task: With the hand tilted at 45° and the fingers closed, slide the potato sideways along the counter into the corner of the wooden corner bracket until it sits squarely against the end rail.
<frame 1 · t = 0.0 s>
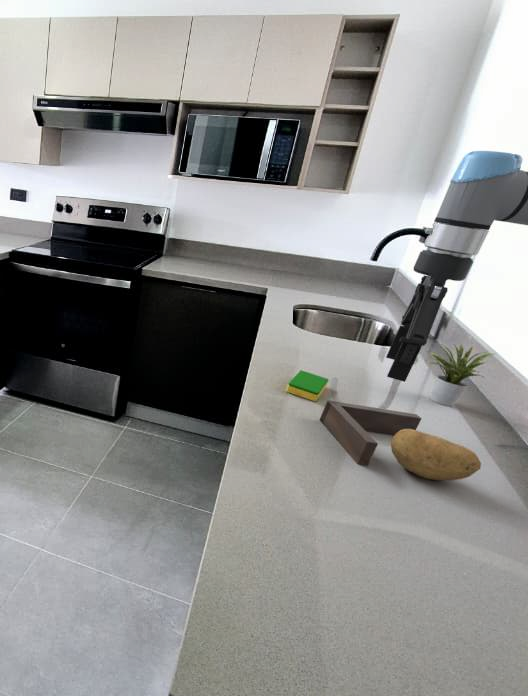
hand: (394, 368, 93), 18 cm above the worktop, tool pointing down, fingers open, 13 cm apart
dish sponge: (305, 390, 129), on the worktop
house plant: (443, 401, 135), on the worktop
potato: (422, 475, 96), on the worktop
wooden corner bracket: (399, 452, 103), on the worktop
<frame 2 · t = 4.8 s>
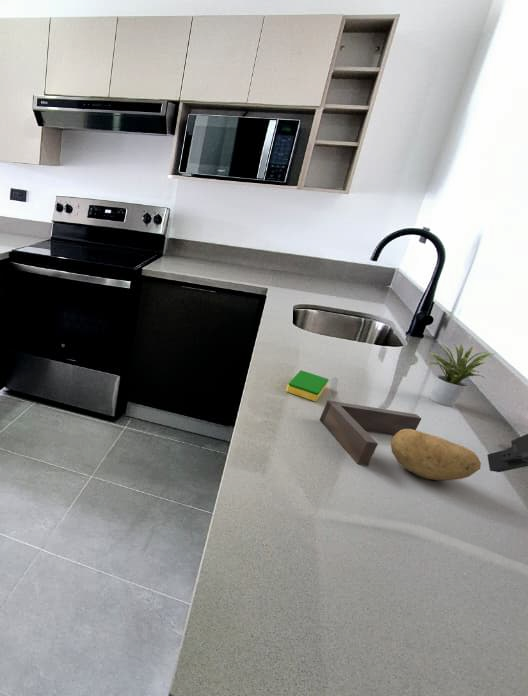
hand: (493, 463, 81), 10 cm above the worktop, tool tilted 45°, fingers closed
nothing on the worktop moved.
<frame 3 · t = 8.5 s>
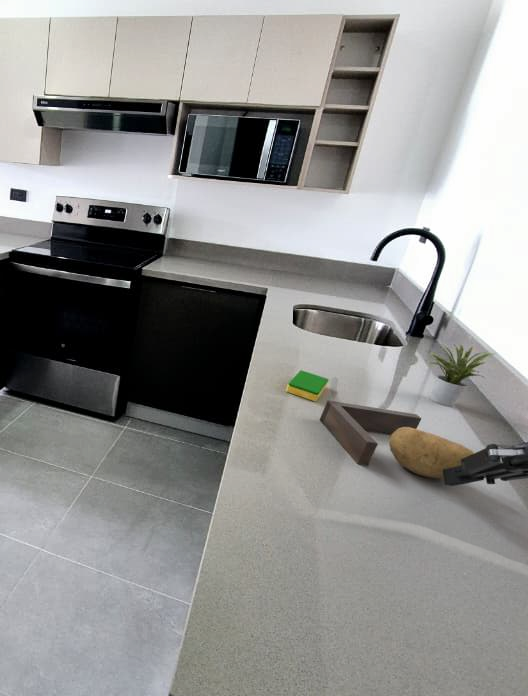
hand: (447, 477, 89), 3 cm above the worktop, tool tilted 45°, fingers closed
potato: (420, 473, 96), on the worktop, touching gripper
everything else where it was.
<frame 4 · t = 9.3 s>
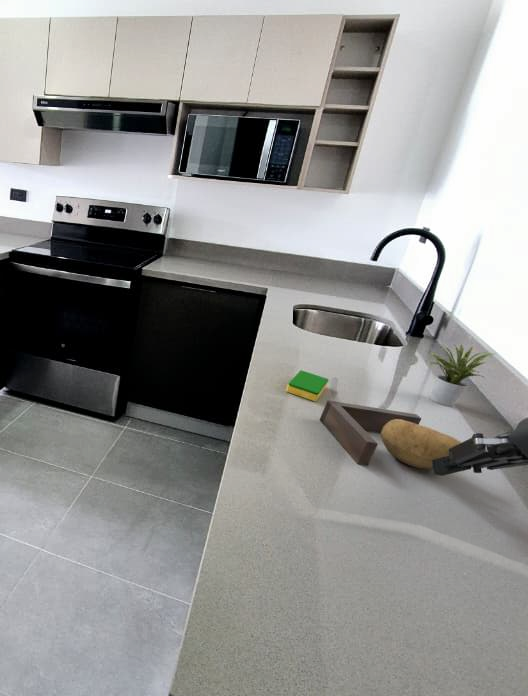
hand: (437, 467, 92), 3 cm above the worktop, tool tilted 45°, fingers closed
potato: (411, 464, 99), on the worktop, touching gripper
everything else where it was.
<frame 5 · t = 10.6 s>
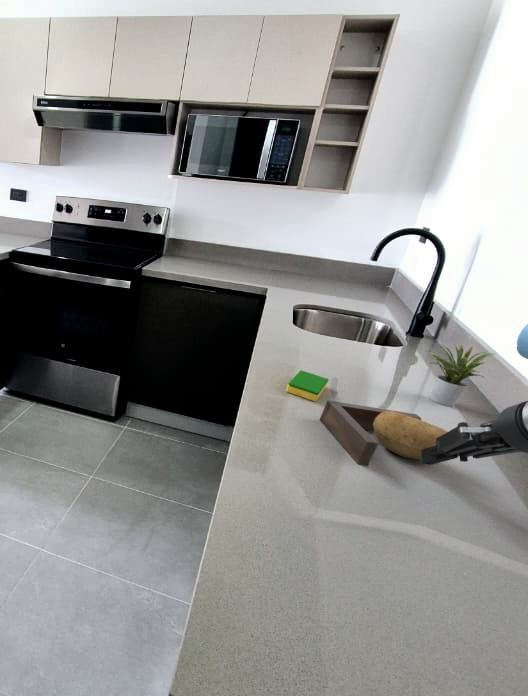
hand: (425, 457, 96), 3 cm above the worktop, tool tilted 45°, fingers closed
potato: (402, 454, 103), on the worktop, touching gripper
everything else where it was.
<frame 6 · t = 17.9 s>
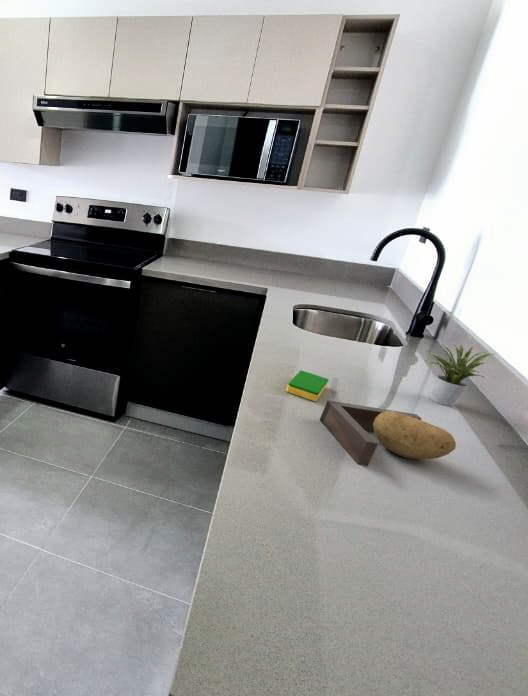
potato: (402, 454, 103), on the worktop
everything else where it was.
at the end: potato inside the target area (1.1 cm from its centre), on the worktop; potato moved 7.4 cm from its start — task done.
